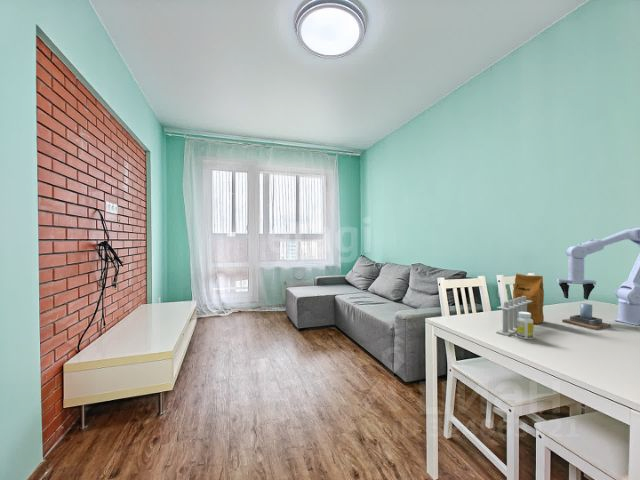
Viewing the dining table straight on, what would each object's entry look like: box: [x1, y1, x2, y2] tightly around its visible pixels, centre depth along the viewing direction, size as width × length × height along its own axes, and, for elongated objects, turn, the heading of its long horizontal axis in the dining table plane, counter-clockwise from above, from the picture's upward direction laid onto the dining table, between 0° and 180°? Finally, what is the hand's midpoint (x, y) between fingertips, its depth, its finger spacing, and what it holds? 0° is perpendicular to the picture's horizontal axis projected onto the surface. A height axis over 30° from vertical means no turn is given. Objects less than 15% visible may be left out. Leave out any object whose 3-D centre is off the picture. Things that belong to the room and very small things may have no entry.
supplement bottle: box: [516, 312, 534, 340], centre depth 112 cm, size 5×5×10 cm
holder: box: [561, 313, 612, 331], centre depth 127 cm, size 12×12×3 cm
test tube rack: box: [496, 296, 533, 337], centre depth 122 cm, size 25×4×13 cm, turn 124°
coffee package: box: [512, 272, 545, 325], centre depth 133 cm, size 10×12×22 cm
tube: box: [579, 302, 593, 320], centre depth 127 cm, size 4×4×8 cm
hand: (576, 298), depth 136 cm, fingers open, 7 cm apart
